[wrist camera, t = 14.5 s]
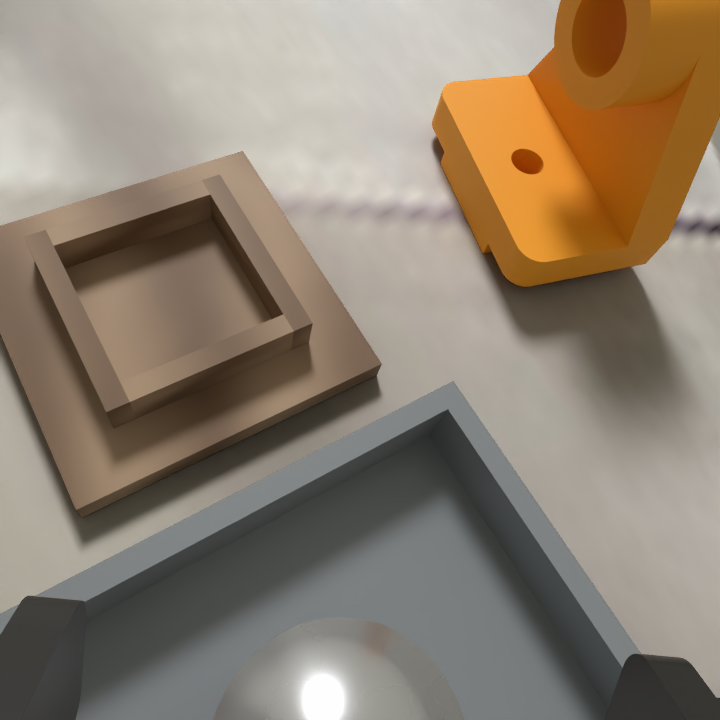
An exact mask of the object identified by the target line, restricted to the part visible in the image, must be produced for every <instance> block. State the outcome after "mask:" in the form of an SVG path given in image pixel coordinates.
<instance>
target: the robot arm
mask: <svg viewBox="0 0 720 720" xmlns="http://www.w3.org/2000/svg"><path fill="white" fill-rule="evenodd" d="M85 623H86V605H85V602H84V601H81V600H70V599H60V598H49V597H38V596H27V597H25V598H24V599H23V600H22V601H21V603H20V604H19V606H18V607H17V609H16V611H15V612H14V614H13V615H12V617H11V618H10V620H9V622H8V623H7V625H6V626H5V628H4V630H3V631H2V633H1V634H0V720H76V716H77V712H78V707H79V702H80V696H81V688H82V672H83V655H84V639H85ZM604 720H720V698H716V697H715V695H714V694H713V693H712V691H711V690H710V689H709V687H708V686H707V685H706V683H705V682H704V681H703V679H702V678H701V676H700V675H699V674H698V672H697V671H696V670H695V668H694V667H693V666H692V665H691V664H690V663H689V662H688V661H687V660H685V659H683V658H678V657H667V656H656V655H645V654H632V655H630V656H629V657H628V658H627V660H626V661H625V663H624V665H623V668H622V671H621V674H620V676H619V679H618V682H617V685H616V688H615V690H614V693H613V696H612V699H611V702H610V704H609V707H608V710H607V713H606V716H605V718H604Z"/></svg>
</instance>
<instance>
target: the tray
mask: <svg viewBox="0 0 720 720" xmlns="http://www.w3.org/2000/svg"><path fill="white" fill-rule="evenodd" d="M36 596H38V597H49V598H60V599H70V600H81V601H84V602H85V605H86V623H85V639H84V655H83V672H82V688H81V696H80V702H79V707H78V712H77V716H76V720H213V718H214V715H215V712H216V710H217V707H218V705H219V703H220V701H221V699H222V697H223V695H224V693H225V691H226V689H227V687H228V686H229V684H230V683H231V681H232V680H233V678H234V677H235V675H236V674H237V672H238V671H239V670H240V669H241V667H242V666H243V665H244V664H245V663H246V662H247V661H248V659H249V658H250V657H251V656H252V655H253V654H254V653H255V652H257V651H258V650H259V649H260V648H261V647H262V646H263V645H264V644H266V643H267V642H269V641H270V640H272V639H273V638H275V637H276V636H277V635H279V634H281V633H283V632H285V631H287V630H289V629H291V628H293V627H295V626H297V625H300V624H303V623H306V622H309V621H313V620H318V619H323V618H332V617H349V618H359V619H364V620H368V621H372V622H375V623H378V624H381V625H383V626H386V627H389V628H391V629H392V630H394V631H396V632H398V633H400V634H402V635H403V636H405V637H406V638H407V639H409V640H410V641H412V642H413V643H414V644H416V645H417V646H418V647H419V648H420V649H421V650H422V651H423V652H424V653H425V654H427V655H428V656H429V657H430V659H431V660H432V661H433V662H434V663H435V665H436V666H437V667H438V668H439V669H440V671H441V672H442V674H443V675H444V677H445V679H446V680H447V682H448V683H449V685H450V687H451V689H452V691H453V693H454V695H455V697H456V699H457V701H458V703H459V706H460V708H461V711H462V714H463V717H464V719H465V720H604V718H605V716H606V713H607V710H608V707H609V704H610V702H611V699H612V696H613V693H614V690H615V688H616V685H617V682H618V679H619V676H620V674H621V671H622V668H623V665H624V663H625V661H626V660H627V658H628V657H629V656H630V655H632V654H641V653H640V651H639V650H638V648H637V647H636V646H635V644H634V643H633V641H632V640H631V638H630V637H629V635H628V634H627V633H626V631H625V630H624V628H623V627H622V625H621V624H620V622H619V621H618V619H617V618H616V617H615V615H614V614H613V612H612V611H611V609H610V608H609V606H608V605H607V603H606V602H605V601H604V599H603V598H602V596H601V595H600V593H599V592H598V590H597V589H596V588H595V586H594V585H593V583H592V582H591V580H590V579H589V577H588V576H587V574H586V573H585V572H584V570H583V569H582V567H581V566H580V564H579V563H578V561H577V560H576V558H575V557H574V556H573V554H572V553H571V551H570V550H569V548H568V547H567V545H566V544H565V542H564V541H563V540H562V538H561V537H560V535H559V534H558V532H557V531H556V529H555V528H554V527H553V525H552V524H551V522H550V521H549V519H548V518H547V516H546V515H545V513H544V512H543V511H542V509H541V508H540V506H539V505H538V503H537V502H536V500H535V499H534V497H533V496H532V495H531V493H530V492H529V490H528V489H527V487H526V486H525V484H524V483H523V482H522V480H521V479H520V477H519V476H518V474H517V473H516V471H515V470H514V468H513V467H512V466H511V464H510V463H509V461H508V460H507V458H506V457H505V455H504V454H503V452H502V451H501V450H500V448H499V447H498V445H497V444H496V442H495V441H494V439H493V438H492V437H491V435H490V434H489V432H488V431H487V429H486V428H485V426H484V425H483V423H482V422H481V421H480V419H479V418H478V416H477V415H476V413H475V412H474V410H473V409H472V407H471V406H470V405H469V403H468V402H467V400H466V399H465V397H464V396H463V394H462V393H461V391H460V390H459V389H458V387H457V386H456V384H455V383H454V381H452V382H450V383H449V384H447V385H445V386H443V387H441V388H439V389H437V390H435V391H433V392H431V393H429V394H427V395H425V396H423V397H421V398H419V399H417V400H415V401H414V402H412V403H410V404H408V405H406V406H404V407H402V408H400V409H398V410H396V411H394V412H392V413H390V414H388V415H386V416H384V417H382V418H380V419H378V420H377V421H375V422H373V423H371V424H369V425H367V426H365V427H363V428H361V429H359V430H357V431H355V432H353V433H351V434H349V435H347V436H345V437H343V438H342V439H340V440H338V441H336V442H334V443H332V444H330V445H328V446H326V447H324V448H322V449H320V450H318V451H316V452H314V453H312V454H310V455H308V456H307V457H305V458H303V459H301V460H299V461H297V462H295V463H293V464H291V465H289V466H287V467H285V468H283V469H281V470H279V471H277V472H275V473H273V474H271V475H270V476H268V477H266V478H264V479H262V480H260V481H258V482H256V483H254V484H252V485H250V486H248V487H246V488H244V489H242V490H240V491H238V492H236V493H235V494H233V495H231V496H229V497H227V498H225V499H223V500H221V501H219V502H217V503H215V504H213V505H211V506H209V507H207V508H205V509H203V510H201V511H199V512H198V513H196V514H194V515H192V516H190V517H188V518H186V519H184V520H182V521H180V522H178V523H176V524H174V525H172V526H170V527H168V528H166V529H164V530H163V531H161V532H159V533H157V534H155V535H153V536H151V537H149V538H147V539H145V540H143V541H141V542H139V543H137V544H135V545H133V546H131V547H129V548H127V549H126V550H124V551H122V552H120V553H118V554H116V555H114V556H112V557H110V558H108V559H106V560H104V561H102V562H100V563H98V564H96V565H94V566H92V567H91V568H89V569H87V570H85V571H83V572H81V573H79V574H77V575H75V576H73V577H71V578H69V579H67V580H65V581H63V582H61V583H59V584H57V585H56V586H54V587H52V588H50V589H48V590H46V591H44V592H42V593H40V594H38V595H36ZM18 606H19V605H17V606H15V607H13V608H11V609H9V610H7V611H5V612H3V613H1V614H0V634H1V633H2V631H3V630H4V628H5V626H6V625H7V623H8V622H9V620H10V618H11V617H12V615H13V614H14V612H15V611H16V609H17V607H18Z"/></svg>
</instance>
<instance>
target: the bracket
mask: <svg viewBox="0 0 720 720" xmlns="http://www.w3.org/2000/svg"><path fill="white" fill-rule="evenodd" d="M719 118H720V0H561V2H560V5H559V9H558V13H557V19H556V25H555V36H554V48H553V49H552V50H551V51H550V52H549V53H548V54H547V55H546V56H545V57H544V58H543V59H542V61H541V62H540V63H539V64H538V65H537V66H536V67H535V68H534V69H533V70H532V71H531V72H530V73H529V74H528V75H523V76H512V77H501V78H490V79H480V80H469V81H458V82H452V83H449V84H447V85H446V86H445V87H444V88H443V91H442V94H441V97H440V100H439V103H438V106H437V109H436V112H435V115H434V118H433V121H432V126H433V129H434V131H435V133H436V135H437V138H438V140H439V142H440V144H441V146H442V148H443V150H444V155H443V157H442V160H441V163H440V164H441V166H442V168H443V170H444V172H445V175H446V177H447V179H448V181H449V183H450V185H451V187H452V190H453V192H454V194H455V196H456V198H457V200H458V202H459V204H460V207H461V209H462V211H463V213H464V215H465V217H466V219H467V221H468V224H469V226H470V228H471V230H472V232H473V234H474V236H475V238H476V241H477V243H478V245H479V247H480V249H481V251H482V253H488V252H492V253H493V255H494V257H495V259H496V261H497V263H498V265H499V267H500V269H501V271H502V273H503V275H504V276H505V277H506V278H507V279H508V280H509V281H510V282H512V283H514V284H516V285H519V286H523V287H530V286H535V285H540V284H545V283H550V282H555V281H560V280H565V279H571V278H576V277H581V276H586V275H591V274H596V273H601V272H606V271H611V270H616V269H621V268H626V267H631V266H636V265H642V264H646V262H647V261H648V260H649V259H650V258H651V257H652V256H653V255H654V254H655V253H656V252H657V251H658V250H659V248H660V247H661V246H662V245H663V244H664V243H665V242H666V241H667V240H668V238H669V236H670V233H671V231H672V229H673V226H674V224H675V222H676V219H677V217H678V214H679V212H680V210H681V207H682V205H683V203H684V200H685V198H686V196H687V193H688V191H689V189H690V186H691V184H692V181H693V179H694V177H695V174H696V172H697V170H698V167H699V165H700V163H701V160H702V158H703V155H704V153H705V151H706V148H707V146H708V144H709V141H710V139H711V137H712V134H713V131H714V129H715V127H716V125H717V122H718V120H719Z"/></svg>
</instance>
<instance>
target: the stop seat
mask: <svg viewBox="0 0 720 720" xmlns="http://www.w3.org/2000/svg"><path fill="white" fill-rule="evenodd" d="M0 334H1V336H2V339H3V341H4V343H5V346H6V348H7V350H8V353H9V355H10V357H11V360H12V362H13V364H14V367H15V369H16V371H17V374H18V376H19V378H20V381H21V383H22V385H23V388H24V390H25V392H26V395H27V397H28V399H29V402H30V404H31V406H32V409H33V411H34V413H35V416H36V418H37V420H38V423H39V425H40V427H41V430H42V432H43V434H44V437H45V439H46V441H47V444H48V446H49V448H50V451H51V453H52V455H53V458H54V460H55V462H56V465H57V467H58V469H59V472H60V474H61V476H62V479H63V481H64V483H65V486H66V488H67V490H68V493H69V495H70V497H71V500H72V502H73V504H74V507H75V509H76V511H77V512H78V513H79V514H80V515H81V517H84V516H87V515H89V514H91V513H93V512H95V511H97V510H99V509H101V508H103V507H105V506H107V505H109V504H111V503H113V502H115V501H118V500H120V499H122V498H124V497H126V496H128V495H130V494H132V493H134V492H136V491H138V490H140V489H142V488H144V487H146V486H149V485H151V484H153V483H155V482H157V481H159V480H161V479H163V478H165V477H167V476H169V475H171V474H173V473H175V472H177V471H180V470H182V469H184V468H186V467H188V466H190V465H192V464H194V463H196V462H198V461H200V460H202V459H204V458H206V457H208V456H211V455H213V454H215V453H217V452H219V451H221V450H223V449H225V448H227V447H229V446H231V445H233V444H235V443H237V442H239V441H241V440H244V439H246V438H248V437H250V436H252V435H254V434H256V433H258V432H260V431H262V430H264V429H266V428H268V427H270V426H272V425H275V424H277V423H279V422H281V421H283V420H285V419H287V418H289V417H291V416H293V415H295V414H297V413H299V412H301V411H303V410H306V409H308V408H310V407H312V406H314V405H316V404H318V403H320V402H322V401H324V400H326V399H328V398H330V397H332V396H334V395H337V394H339V393H341V392H343V391H345V390H347V389H349V388H351V387H353V386H355V385H357V384H359V383H361V382H363V381H365V380H368V379H370V378H372V377H374V376H376V375H377V374H378V371H379V369H380V367H381V362H380V361H379V359H378V358H377V356H376V355H375V353H374V351H373V350H372V348H371V347H370V345H369V344H368V342H367V341H366V339H365V338H364V336H363V335H362V333H361V332H360V330H359V328H358V327H357V325H356V324H355V322H354V321H353V319H352V318H351V316H350V315H349V313H348V312H347V310H346V309H345V307H344V305H343V304H342V302H341V301H340V299H339V298H338V296H337V295H336V293H335V292H334V290H333V289H332V287H331V286H330V284H329V282H328V281H327V279H326V278H325V276H324V275H323V273H322V272H321V270H320V269H319V267H318V266H317V264H316V263H315V261H314V259H313V258H312V256H311V255H310V253H309V252H308V250H307V249H306V247H305V246H304V244H303V243H302V241H301V240H300V238H299V236H298V235H297V233H296V232H295V230H294V229H293V227H292V226H291V224H290V223H289V221H288V220H287V218H286V217H285V215H284V213H283V212H282V210H281V209H280V207H279V206H278V204H277V203H276V201H275V200H274V198H273V197H272V195H271V194H270V192H269V191H268V189H267V187H266V186H265V184H264V183H263V181H262V180H261V178H260V177H259V175H258V174H257V172H256V171H255V169H254V168H253V166H252V164H251V163H250V161H249V160H248V158H247V157H246V155H245V154H244V152H243V151H241V152H238V153H235V154H232V155H228V156H225V157H222V158H219V159H215V160H212V161H209V162H206V163H203V164H199V165H196V166H193V167H190V168H186V169H183V170H180V171H177V172H173V173H170V174H167V175H164V176H160V177H157V178H154V179H151V180H147V181H144V182H141V183H138V184H135V185H131V186H128V187H125V188H122V189H118V190H115V191H112V192H109V193H105V194H102V195H99V196H96V197H92V198H89V199H86V200H83V201H79V202H76V203H73V204H70V205H67V206H63V207H60V208H57V209H54V210H50V211H47V212H44V213H41V214H37V215H34V216H31V217H28V218H24V219H21V220H18V221H15V222H11V223H8V224H5V225H2V226H0Z"/></svg>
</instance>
